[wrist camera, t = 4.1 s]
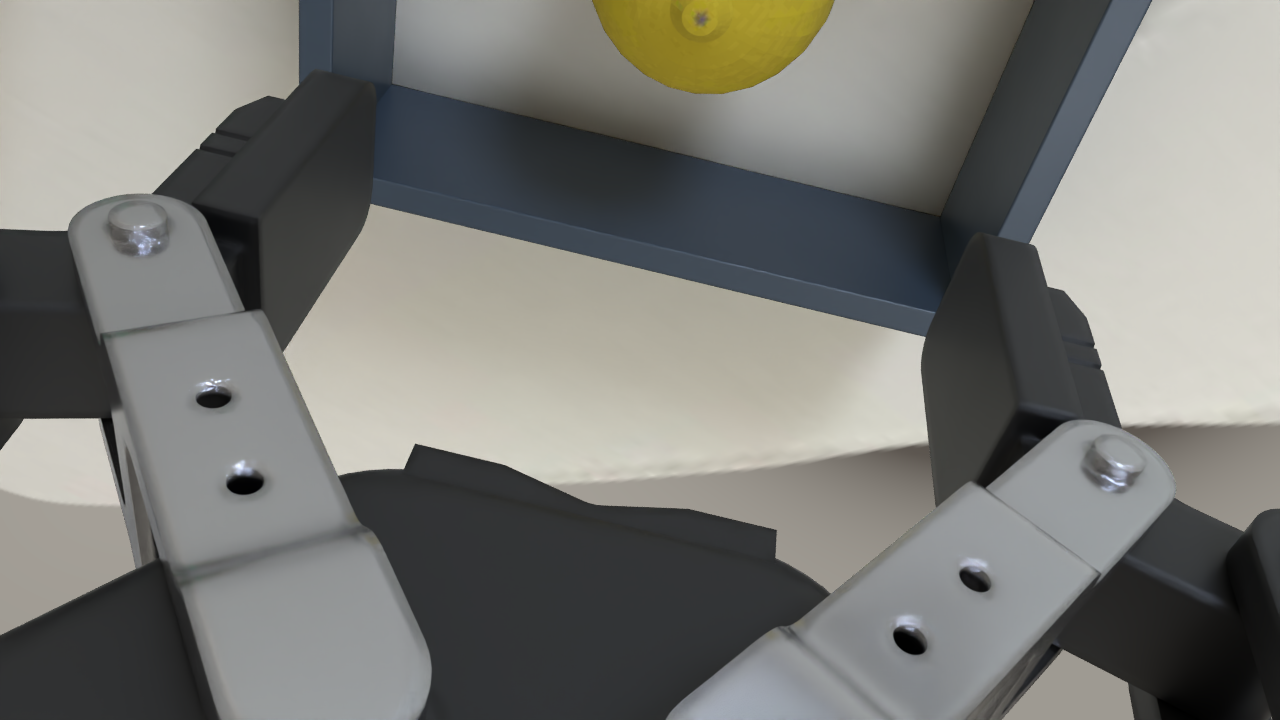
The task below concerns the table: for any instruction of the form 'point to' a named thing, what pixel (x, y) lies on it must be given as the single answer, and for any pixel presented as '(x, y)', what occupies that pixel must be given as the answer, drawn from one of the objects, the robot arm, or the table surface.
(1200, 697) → the robot arm
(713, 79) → the lemon
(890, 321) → the rectangular frame
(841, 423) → the table surface
